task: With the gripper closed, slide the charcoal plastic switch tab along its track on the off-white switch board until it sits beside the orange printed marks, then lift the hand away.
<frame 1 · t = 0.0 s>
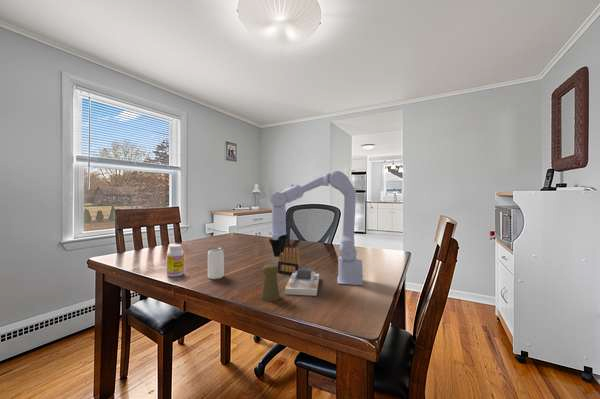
hand: (278, 254, 103), 10 cm above the table, tool pointing down, fingers open, 7 cm apart
can: (215, 277, 106), on the table
switch tab: (304, 273, 99), point 4 cm above the table, slide at 0.0 cm
green chess rook: (270, 298, 84), on the table
ammunition clip: (288, 274, 110), on the table
supplement bottle: (175, 275, 109), on the table
switch board: (303, 285, 95), on the table
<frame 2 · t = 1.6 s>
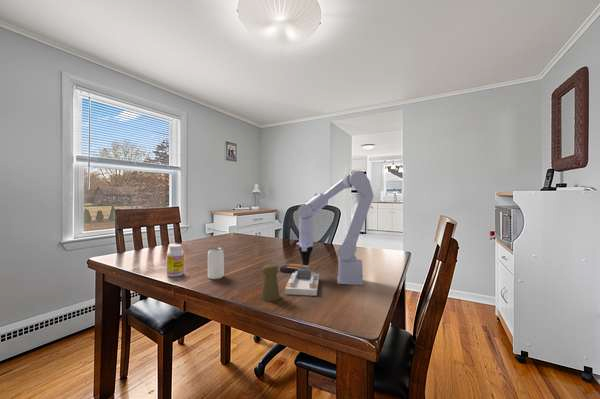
hand: (305, 264, 106), 5 cm above the table, tool pointing down, fingers closed
ammunition clip: (289, 270, 111), point 1 cm above the table
everything else where it was.
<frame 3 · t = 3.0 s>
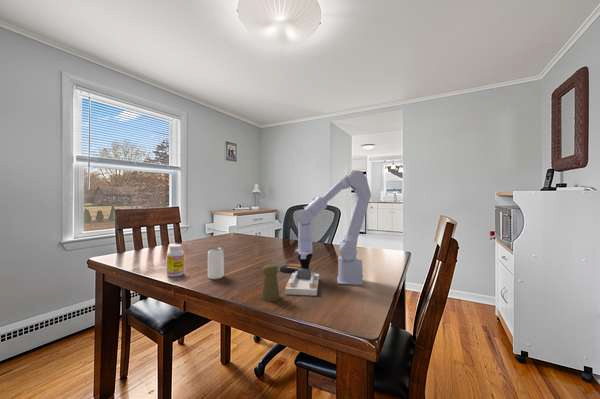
hand: (305, 272, 102), 3 cm above the table, tool pointing down, fingers closed
switch tab: (304, 273, 99), point 4 cm above the table, slide at 0.0 cm, touching gripper
everything else where it was.
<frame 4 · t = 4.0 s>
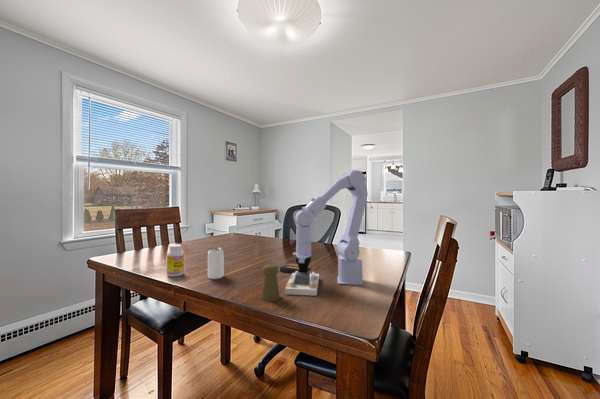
hand: (303, 277, 96), 3 cm above the table, tool pointing down, fingers closed
switch tab: (302, 277, 93), point 4 cm above the table, slide at 5.8 cm, touching gripper
everything else where it was.
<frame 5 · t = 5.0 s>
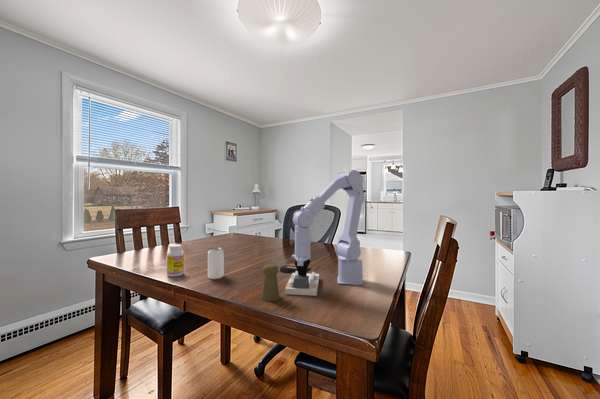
hand: (302, 280, 92), 3 cm above the table, tool pointing down, fingers closed
switch tab: (301, 281, 89), point 4 cm above the table, slide at 9.6 cm, touching gripper
everything else where it was.
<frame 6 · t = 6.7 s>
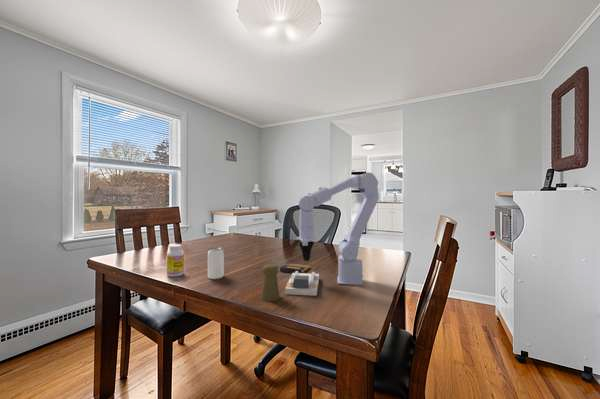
hand: (306, 260, 100), 9 cm above the table, tool pointing down, fingers closed
switch tab: (301, 281, 89), point 4 cm above the table, slide at 9.8 cm
everything else where it was.
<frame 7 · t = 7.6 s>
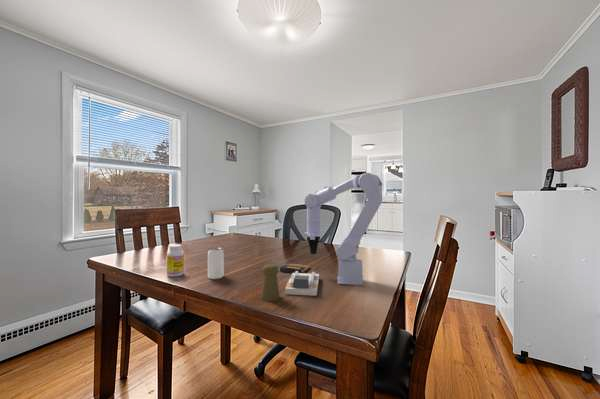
hand: (313, 253, 108), 9 cm above the table, tool pointing down, fingers closed
nothing on the table moved.
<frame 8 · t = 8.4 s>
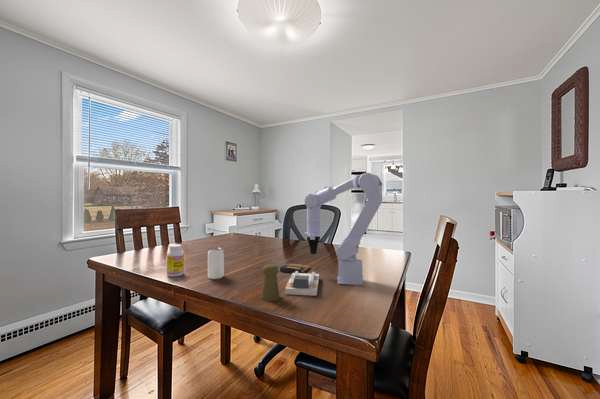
hand: (313, 253, 108), 9 cm above the table, tool pointing down, fingers closed
nothing on the table moved.
at the end: switch tab slide at 9.8 cm; green chess rook moved 0.2 cm from its start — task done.
